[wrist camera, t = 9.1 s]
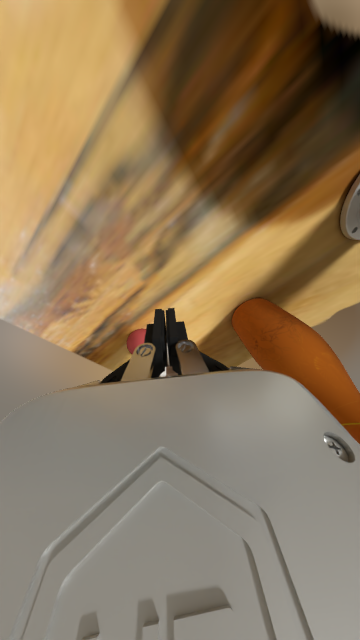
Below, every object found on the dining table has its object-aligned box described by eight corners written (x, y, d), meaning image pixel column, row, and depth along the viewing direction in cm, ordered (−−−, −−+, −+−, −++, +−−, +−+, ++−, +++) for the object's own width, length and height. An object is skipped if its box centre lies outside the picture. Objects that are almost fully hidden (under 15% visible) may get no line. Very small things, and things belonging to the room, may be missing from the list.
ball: (160, 351, 32) (158, 350, 26) (135, 361, 31) (127, 361, 25) (152, 328, 33) (148, 321, 27) (128, 336, 32) (119, 332, 26)
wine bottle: (220, 322, 32) (420, 644, 7) (251, 287, 28) (1014, 781, 3) (248, 336, 35) (448, 584, 11) (279, 307, 31) (735, 607, 6)
